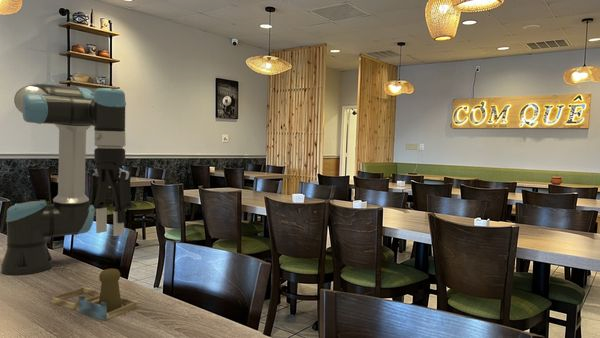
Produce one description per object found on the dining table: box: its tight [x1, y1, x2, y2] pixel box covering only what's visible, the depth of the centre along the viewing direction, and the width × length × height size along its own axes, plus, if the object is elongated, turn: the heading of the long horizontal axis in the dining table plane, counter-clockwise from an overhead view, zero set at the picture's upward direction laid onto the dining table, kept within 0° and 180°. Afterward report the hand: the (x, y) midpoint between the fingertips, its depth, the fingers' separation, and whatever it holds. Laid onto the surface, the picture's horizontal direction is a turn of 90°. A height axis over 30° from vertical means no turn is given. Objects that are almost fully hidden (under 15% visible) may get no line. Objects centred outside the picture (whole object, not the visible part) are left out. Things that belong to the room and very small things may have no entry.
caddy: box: [49, 286, 139, 321], centre depth 118 cm, size 23×11×4 cm, turn 63°
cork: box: [98, 268, 123, 313], centre depth 115 cm, size 6×6×11 cm
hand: (110, 233), depth 114 cm, fingers open, 6 cm apart
